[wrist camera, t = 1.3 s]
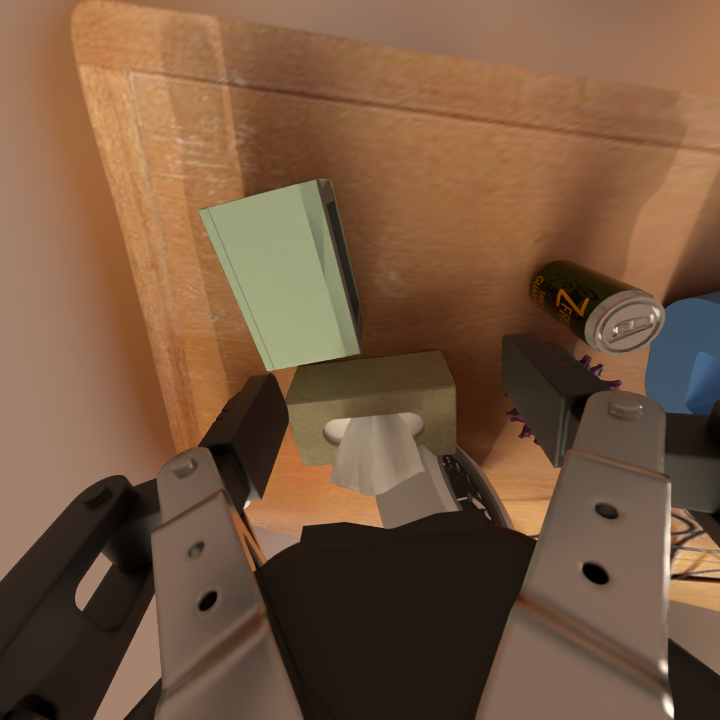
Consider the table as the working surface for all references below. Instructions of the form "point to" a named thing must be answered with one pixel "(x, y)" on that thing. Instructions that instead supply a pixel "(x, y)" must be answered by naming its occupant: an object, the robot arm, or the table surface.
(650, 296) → the beer can
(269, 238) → the pale green open box
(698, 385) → the block
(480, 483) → the alarm clock
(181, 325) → the table surface
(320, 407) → the tissue box
